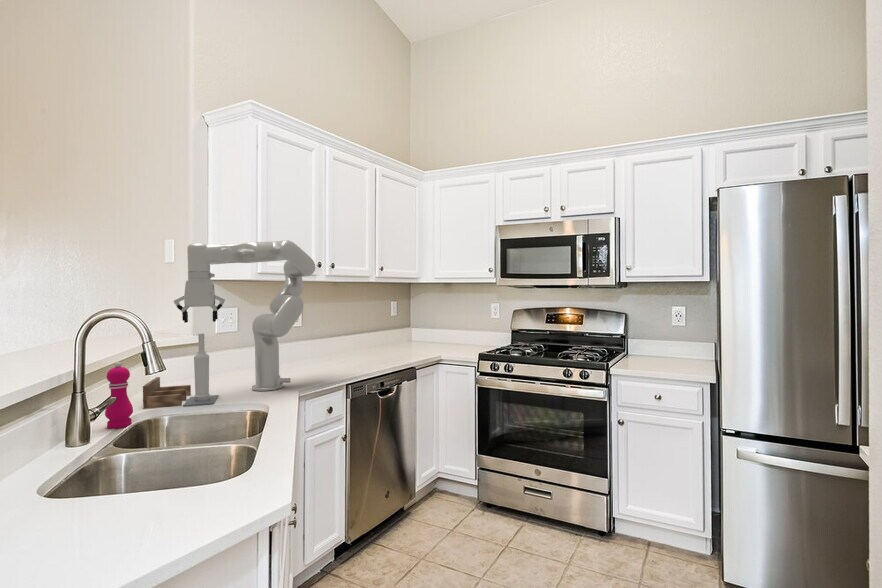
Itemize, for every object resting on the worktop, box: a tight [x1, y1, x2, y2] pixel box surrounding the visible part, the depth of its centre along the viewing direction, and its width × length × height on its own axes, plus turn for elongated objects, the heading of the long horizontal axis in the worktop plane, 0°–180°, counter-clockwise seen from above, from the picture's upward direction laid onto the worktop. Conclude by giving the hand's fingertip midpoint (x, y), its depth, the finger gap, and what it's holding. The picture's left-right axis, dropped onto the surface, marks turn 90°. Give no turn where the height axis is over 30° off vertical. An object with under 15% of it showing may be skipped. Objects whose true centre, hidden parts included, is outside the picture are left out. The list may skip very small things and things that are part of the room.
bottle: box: [193, 333, 211, 401], centre depth 177 cm, size 5×5×25 cm
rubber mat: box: [182, 394, 220, 408], centre depth 177 cm, size 10×14×1 cm
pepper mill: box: [104, 361, 134, 430], centre depth 146 cm, size 7×7×20 cm
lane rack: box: [142, 376, 192, 410], centre depth 178 cm, size 12×19×8 cm, turn 18°
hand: (200, 322), depth 177 cm, fingers open, 9 cm apart
